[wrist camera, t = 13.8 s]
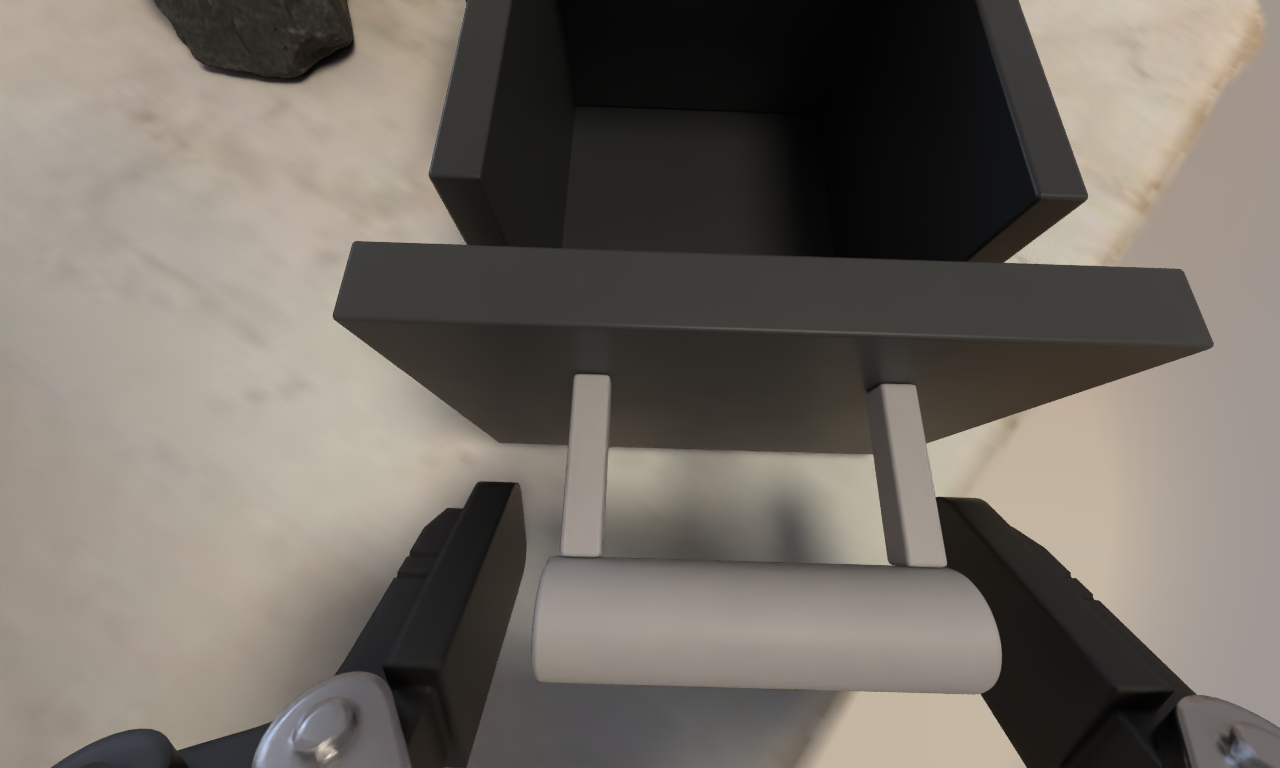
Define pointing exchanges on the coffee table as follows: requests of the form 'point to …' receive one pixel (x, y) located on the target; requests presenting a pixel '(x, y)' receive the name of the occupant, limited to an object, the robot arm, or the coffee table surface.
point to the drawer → (755, 301)
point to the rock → (260, 32)
